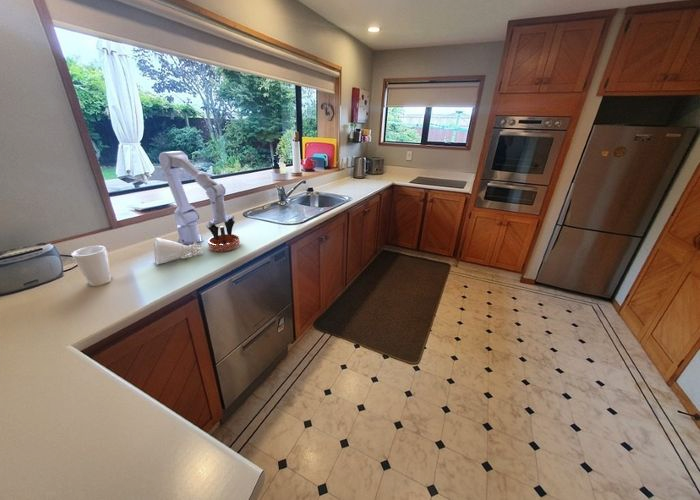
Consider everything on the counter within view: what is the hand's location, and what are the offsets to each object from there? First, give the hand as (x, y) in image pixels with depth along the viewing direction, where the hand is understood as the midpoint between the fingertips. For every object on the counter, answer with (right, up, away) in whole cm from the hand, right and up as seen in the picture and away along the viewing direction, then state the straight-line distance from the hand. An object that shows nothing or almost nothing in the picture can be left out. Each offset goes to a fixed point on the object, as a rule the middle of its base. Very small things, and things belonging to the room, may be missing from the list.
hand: (223, 236), depth 138 cm
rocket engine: (-14, -11, -12) cm, 22 cm away
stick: (0, -4, +2) cm, 5 cm away
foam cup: (-33, -19, -31) cm, 49 cm away
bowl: (0, -5, +2) cm, 5 cm away
